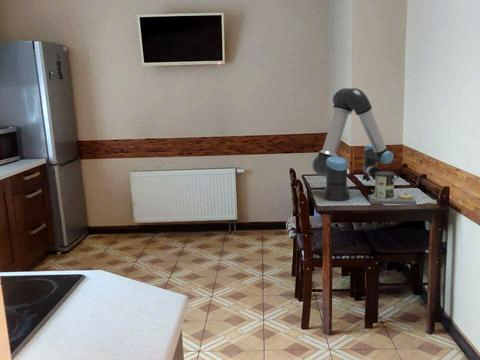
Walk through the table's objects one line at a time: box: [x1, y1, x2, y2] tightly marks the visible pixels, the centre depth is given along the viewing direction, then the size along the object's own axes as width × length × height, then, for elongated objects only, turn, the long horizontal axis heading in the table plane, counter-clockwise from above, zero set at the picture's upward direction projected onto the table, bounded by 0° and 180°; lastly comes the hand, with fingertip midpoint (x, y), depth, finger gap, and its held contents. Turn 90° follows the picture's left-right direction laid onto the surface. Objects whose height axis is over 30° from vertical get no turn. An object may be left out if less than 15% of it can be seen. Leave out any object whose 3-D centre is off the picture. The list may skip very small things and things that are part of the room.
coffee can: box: [374, 170, 396, 199], centre depth 258 cm, size 10×10×14 cm
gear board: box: [367, 192, 417, 205], centre depth 259 cm, size 24×14×4 cm, turn 80°
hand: (384, 180), depth 260 cm, fingers open, 13 cm apart
